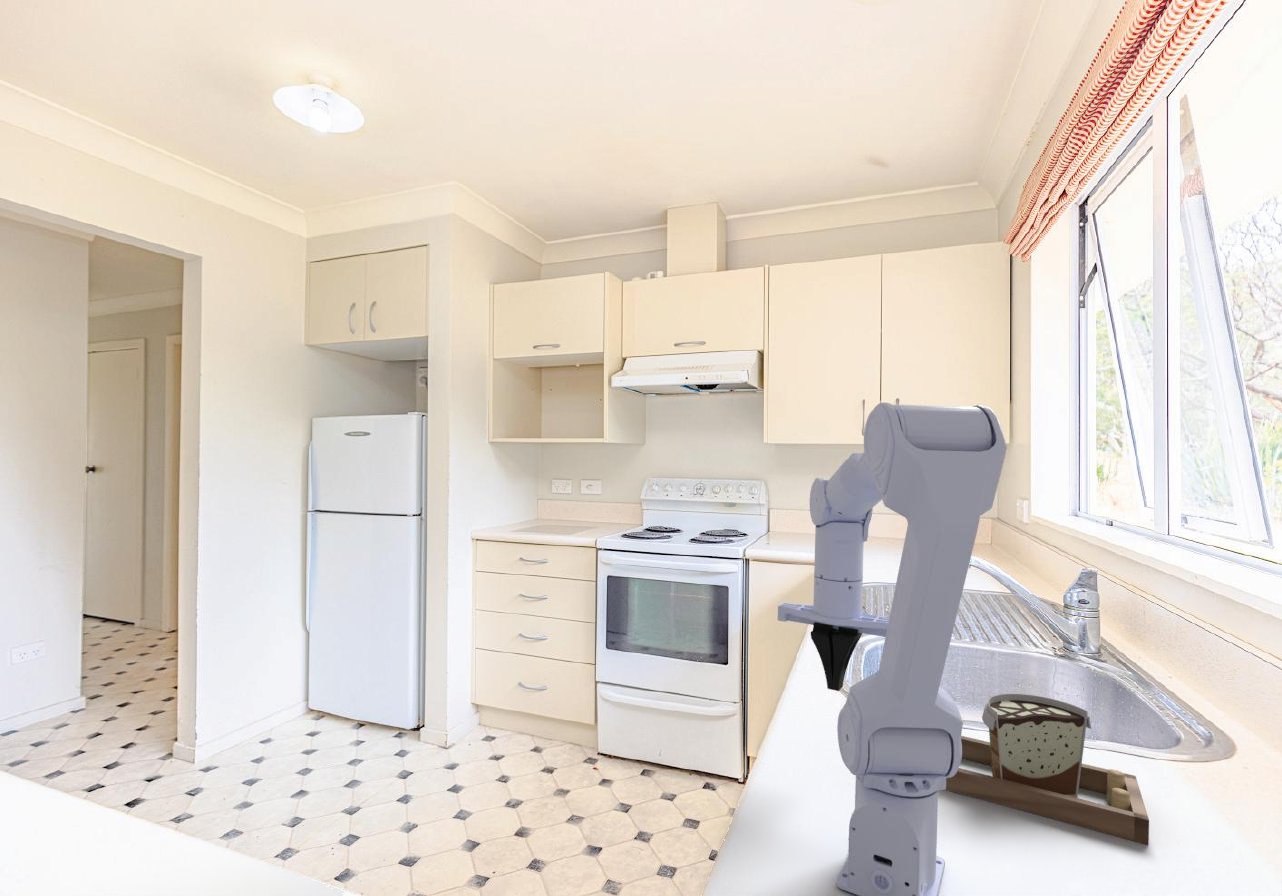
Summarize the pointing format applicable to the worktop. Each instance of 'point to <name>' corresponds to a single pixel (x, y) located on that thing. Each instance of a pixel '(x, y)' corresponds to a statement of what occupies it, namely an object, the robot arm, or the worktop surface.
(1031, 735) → the food container
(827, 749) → the worktop surface
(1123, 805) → the rail frame
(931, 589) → the robot arm
